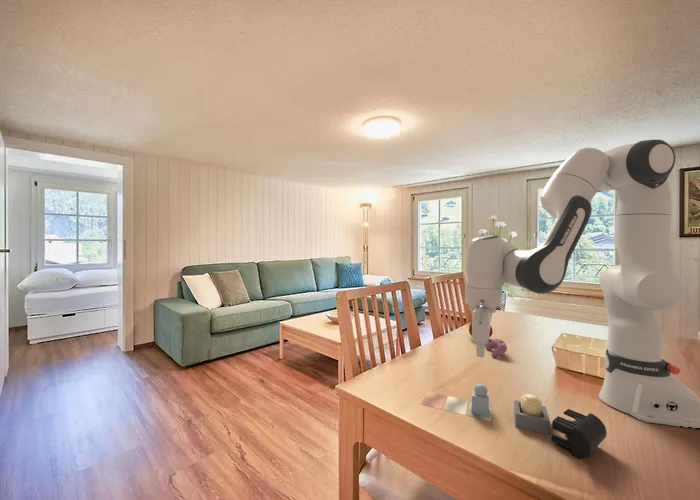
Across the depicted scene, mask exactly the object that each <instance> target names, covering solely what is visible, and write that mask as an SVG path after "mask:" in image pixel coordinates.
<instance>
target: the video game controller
mask: <svg viewBox="0 0 700 500" xmlns="http://www.w3.org/2000/svg"><path fill="white" fill-rule="evenodd" d="M485 349H486V350H487V351H491V350H493V351H492V352H491V357H492V358H498V357H500V356H502V355H504V354H505V353H506V352H507V349H508V346H507V345H506V342H505V341H504V340H502V339H500V338H497V337H496V338H495V339H493V340H492V341H491V342H490V341H489V342H488V343H487V344H486V345H485Z"/></svg>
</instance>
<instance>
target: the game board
mask: <svg viewBox="0 0 700 500" xmlns="http://www.w3.org/2000/svg"><path fill="white" fill-rule="evenodd" d="M446 396H447V395H446V394H441V393H435V392H432V391H426V393H425V395H424V397H423V399H422V400H421V404H420V405H422V406H425V407H430V408H434V409H439V410H443V411H445V412H450V413H455V414H458V415H459V414H460V415H463V416H468V417H471V418H476V419H480V420H483V421H487V422H492V413H493V412H492V409H493V408H492V405H490V404H489V413H488V416H484V415H480V414H476V413H472V412H471V411H472V400H470V402H469V400H468V399H463V398H460V397H459V398H458V397H455V396H449V395H448V396H447V399H446ZM445 399H446V401H445ZM444 403H445V405H444ZM468 404H469V407H468ZM443 405H444V408H443ZM442 408H443V409H442ZM467 408H468V413H467ZM466 413H467V415H466Z"/></svg>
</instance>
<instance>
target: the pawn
mask: <svg viewBox="0 0 700 500" xmlns="http://www.w3.org/2000/svg"><path fill="white" fill-rule="evenodd" d="M471 401H472V411H471V412H472V413H476V414H480V415H484V416H488V413H489V405H490V392H489V391H488V389H487V386H486V385H484V384H482V383H477V384H475V386H474V388H473V389H472V393H471Z"/></svg>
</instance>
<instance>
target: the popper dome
mask: <svg viewBox="0 0 700 500" xmlns="http://www.w3.org/2000/svg"><path fill="white" fill-rule="evenodd" d="M520 401H521V413H525V414H529V415H534V416H538V417H541V415H542V406H543V401H542V399H541V398H539V397H538V396H536V395H535V394H532V393H526V394H522V395H521V397H520Z"/></svg>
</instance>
